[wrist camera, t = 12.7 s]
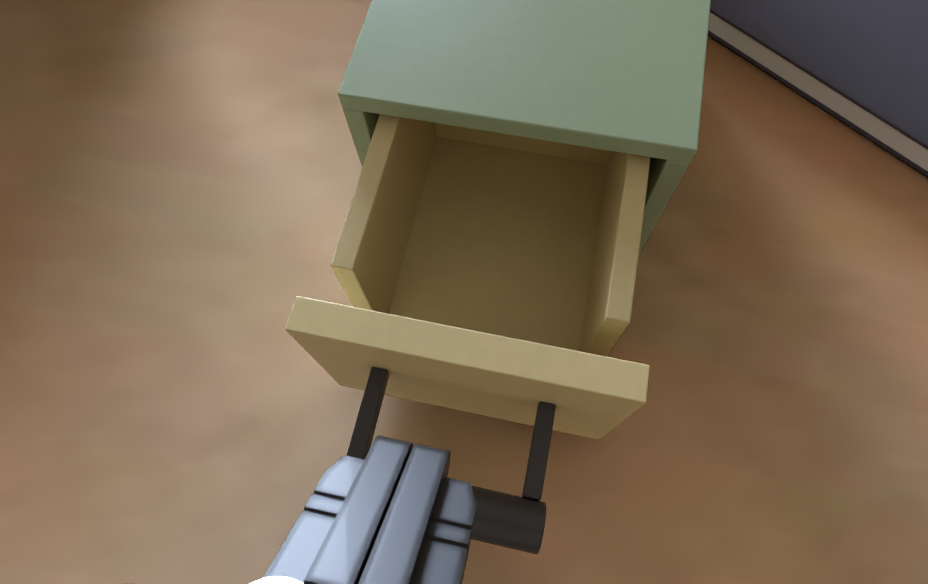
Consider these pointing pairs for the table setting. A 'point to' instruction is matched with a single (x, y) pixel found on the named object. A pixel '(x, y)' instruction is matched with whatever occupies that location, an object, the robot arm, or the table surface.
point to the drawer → (487, 292)
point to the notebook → (842, 61)
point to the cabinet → (540, 75)
